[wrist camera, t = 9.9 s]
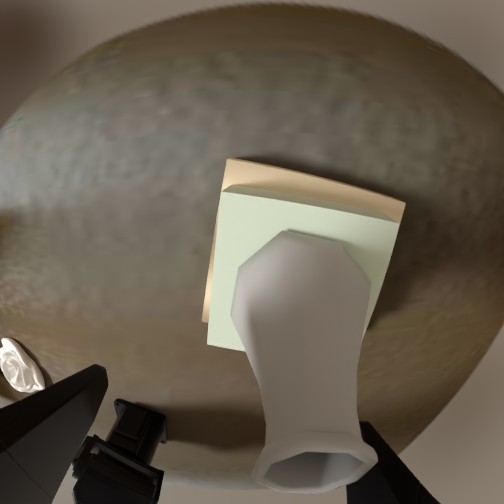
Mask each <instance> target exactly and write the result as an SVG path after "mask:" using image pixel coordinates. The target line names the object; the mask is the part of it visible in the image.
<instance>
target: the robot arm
mask: <svg viewBox="0 0 504 504" xmlns="http://www.w3.org/2000/svg"><path fill="white" fill-rule="evenodd" d="M107 388H108V378H107V372H106V369H105V368H104V367H102V366H100V365H98V364H94V365H92V366H90V367H88V368H86V369H84V370H81V371H79V372H77V373H75V374H73V375H71V376H69V377H67V378H65V379H63V380H61V381H59V382H57V383H55V384H53V385H51V386H49V387H47V388H45V389H43V390H40V391H38V392H36V393H34V394H32V395H30V396H28V397H26V398H24V399H22V400H21V401H20V400H19V401H17V402H15V403H13V404H10V405H8V406H6V407H3V408H0V504H52V501H53V499H54V497H55V495H56V493H57V491H58V488H59V487H60V484H61V482H62V481H63V479H64V477H65V475H66V473H67V471H68V469H69V467H70V465H71V463H72V465H73V471H74V472H73V474H72V476H73V477H74V478H76V479H78V481H77V482H76V484H75V486H74V488H73V492H72V496H73V501H74V504H157V503H158V500H159V496H160V490H161V485H162V481H163V476H164V471H162V470H158V469H156V468H154V467H152V466H150V464H151V462H152V459H153V456H154V454H155V451H156V449H157V446H158V444H159V443H163V444H166V443H167V428H166V417H165V416H163V415H160V414H157V413H154V412H151V411H148V410H145V409H142V408H139V407H137V406H134V405H131V404H128V403H126V402H123V401H120V400H118V399H116V400H115V401H114V406H115V410H116V414H117V419H116V421H115V423H114V425H113V427H112V429H111V430H110V432H109V434H108V436H107V438H106V440H105V441H104V440H102V439H100V438H99V436H97V435H95V434H94V436H93V437H91V436H87V437H86V435H87V433H88V431H89V429H90V427H91V426H92V424H93V422H94V420H95V417H96V415H97V413H98V410H99V408H100V405H101V403H102V400H103V398H104V395H105V393H106V391H107ZM359 425H360V431H361V437H362V439H363V442H365V443H366V444H368V445H369V446H371V447H372V448H374V450H375V452H376V454H377V457H378V462H377V463H376V464H375V465H374V466H373V467H372V468H371V469H370V470H369V471H368V472H367V473H365V474H364V475H363V476H362V477H361V478H360V479H359V480H358V481H356V482H353V483H351V484H348V485H346V490H347V504H441V503H439V502H438V501H437V500H436V499H435V498H434V497H433V496H432V495H431V494H430V493H429V491H428V490H427V489H426V488H425V487H424V486H423V485H422V484H421V483H420V481H419V480H418V479H417V478H416V477H415V476H414V475H413V473H412V472H411V471H410V470H409V469H408V467H407V466H406V465H405V464H404V463H403V462H402V460H401V459H400V458H399V457H398V456H397V455H396V453H395V452H394V451H393V450H392V449H391V447H390V446H389V445H388V444H387V443H386V442H385V440H384V439H383V438H382V437H381V436H380V434H379V433H378V432H377V431H376V430H375V429H374V427H373V426H372V425H371V424H370V423H369V422H368V421H359ZM85 437H86V438H85ZM84 438H85V440H84ZM83 440H84V442H83ZM82 442H83V444H82ZM81 444H82V445H81ZM80 446H81V447H80ZM91 451H92V452H93V453H91Z"/></svg>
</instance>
